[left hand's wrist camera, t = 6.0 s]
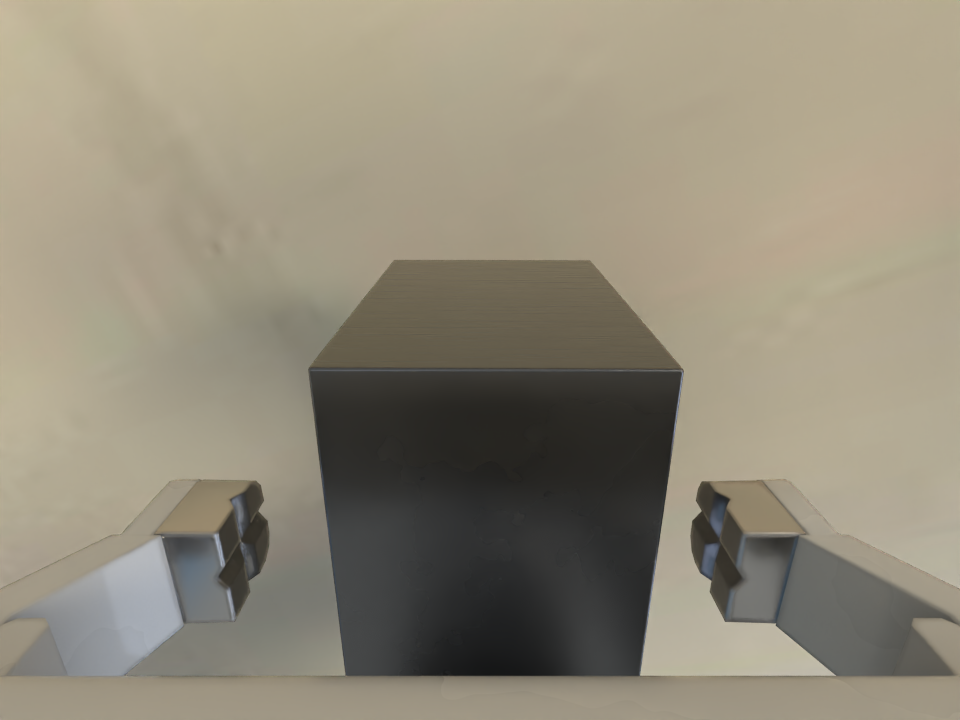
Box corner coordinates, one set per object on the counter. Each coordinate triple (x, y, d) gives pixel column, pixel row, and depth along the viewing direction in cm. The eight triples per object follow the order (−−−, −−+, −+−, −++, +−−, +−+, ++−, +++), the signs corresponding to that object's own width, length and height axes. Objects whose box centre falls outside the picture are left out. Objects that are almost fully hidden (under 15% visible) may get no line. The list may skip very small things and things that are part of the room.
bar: (393, 259, 15) (307, 367, 8) (590, 259, 15) (685, 369, 8) (423, 783, 24) (394, 1075, 16) (552, 785, 24) (582, 1080, 16)
